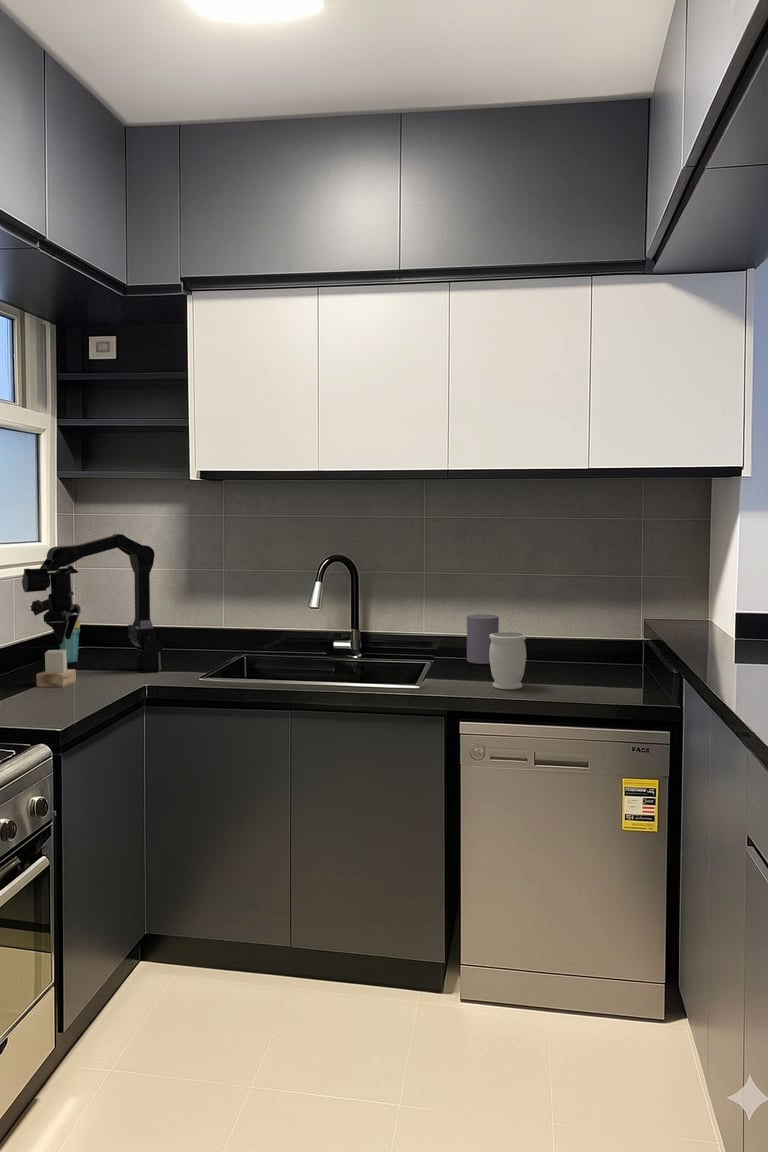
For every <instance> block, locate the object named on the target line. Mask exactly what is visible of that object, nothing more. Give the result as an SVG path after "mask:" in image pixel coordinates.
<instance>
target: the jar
mask: <svg viewBox="0 0 768 1152" xmlns="http://www.w3.org/2000/svg"><path fill="white" fill-rule="evenodd" d="M489 637H490V639H491V644H490V650H489V660H490V664H489V665H490V671H491V673H490V674H491V676H492V678H493V680H494V681H493V683H492V687H494V688H496V689H498V690H518V689H521V688H523V683H522V682H521V681H522V679H523V677H524V674H525V670H526V669H525V668H526V662H527V648H526V642H525V640H526V639H527V635H526V634H524V633H520V632H512V631H511V632H510V631H509V632H506V631H504V632H503V631H502V632H499V633H493V634H490V636H489Z"/></svg>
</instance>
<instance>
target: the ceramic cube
mask: <svg viewBox="0 0 768 1152" xmlns="http://www.w3.org/2000/svg"><path fill="white" fill-rule="evenodd" d="M44 661H45V662H44V663H45V664H44V665H45V667H44V668H45V671H46V674H47V673H64V672H65V671H66V670H67V669H68V663H67V656H66V650H60V649H48V650H47V651H46V652H45V653H44Z"/></svg>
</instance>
